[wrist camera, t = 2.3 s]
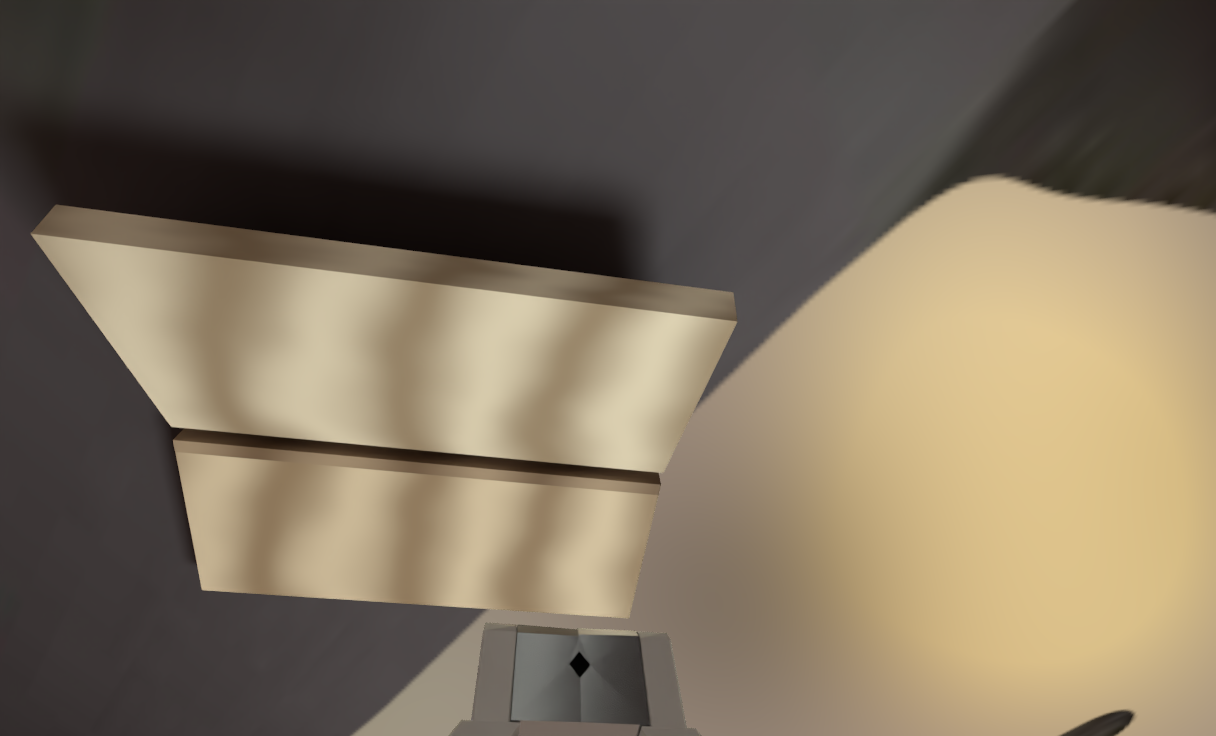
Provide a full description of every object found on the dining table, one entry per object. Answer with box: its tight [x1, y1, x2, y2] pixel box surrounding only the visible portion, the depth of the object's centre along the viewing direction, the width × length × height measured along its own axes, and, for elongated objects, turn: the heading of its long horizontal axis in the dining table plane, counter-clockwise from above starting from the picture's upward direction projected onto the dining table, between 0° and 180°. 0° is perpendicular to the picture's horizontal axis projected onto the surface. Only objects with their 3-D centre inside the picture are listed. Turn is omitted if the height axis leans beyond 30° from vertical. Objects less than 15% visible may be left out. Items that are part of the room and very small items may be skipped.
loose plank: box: [31, 205, 737, 473], centre depth 27 cm, size 24×12×2 cm, turn 81°
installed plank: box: [173, 428, 661, 618], centre depth 35 cm, size 24×10×2 cm, turn 81°
